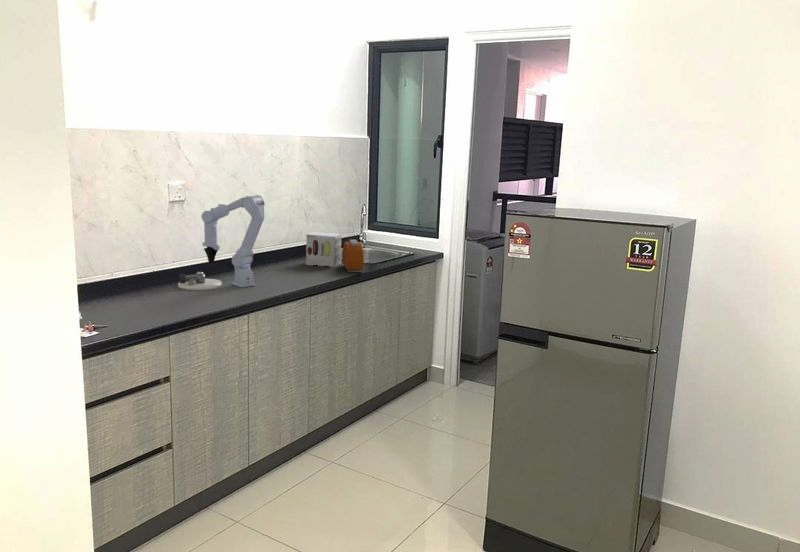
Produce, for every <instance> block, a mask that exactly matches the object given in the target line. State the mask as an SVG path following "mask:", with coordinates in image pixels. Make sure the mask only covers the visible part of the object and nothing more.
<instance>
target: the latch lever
mask: <svg viewBox="0 0 800 552" xmlns="http://www.w3.org/2000/svg"><path fill="white" fill-rule="evenodd" d="M190 279H193V280H194V281H195V282H196V283H205V279H206V274H205V273H204V272H203V271H197V272H196V273H195V274H189V275H186V273H180V274H179V282H180V283H186V282H188V280H190Z"/></svg>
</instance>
